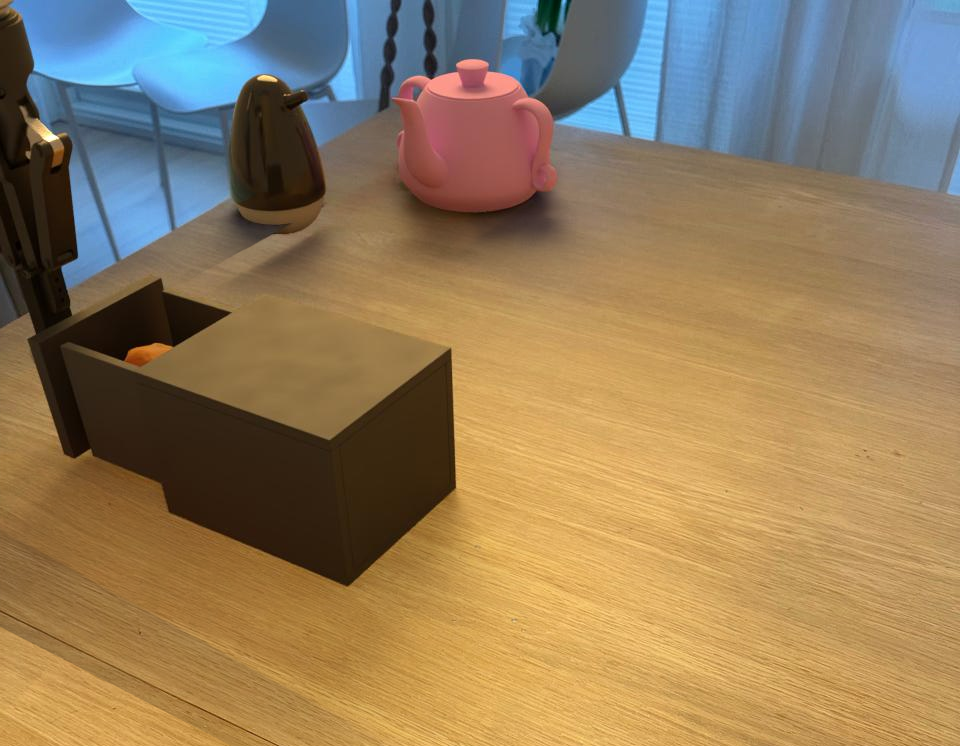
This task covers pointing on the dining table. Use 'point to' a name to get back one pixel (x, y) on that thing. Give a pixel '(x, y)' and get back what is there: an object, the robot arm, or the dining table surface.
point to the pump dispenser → (274, 156)
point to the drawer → (113, 368)
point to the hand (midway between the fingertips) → (60, 344)
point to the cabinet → (302, 433)
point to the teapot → (473, 140)
